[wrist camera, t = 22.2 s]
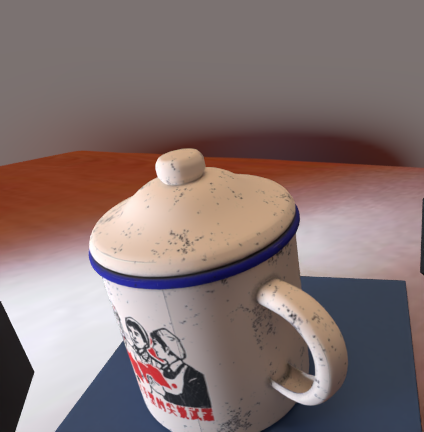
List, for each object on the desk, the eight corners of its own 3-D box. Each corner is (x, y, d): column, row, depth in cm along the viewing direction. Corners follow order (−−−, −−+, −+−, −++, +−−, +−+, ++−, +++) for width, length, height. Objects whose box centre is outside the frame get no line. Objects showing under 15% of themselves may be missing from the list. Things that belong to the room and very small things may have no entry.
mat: (464, 838, 8) (465, 834, 8) (-52, 583, 15) (-56, 579, 14) (405, 284, 25) (405, 280, 25) (176, 273, 31) (175, 270, 31)
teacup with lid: (110, 373, 22) (35, 174, 18) (234, 295, 27) (201, 120, 22) (261, 568, 13) (190, 260, 8) (412, 398, 18) (420, 136, 13)
